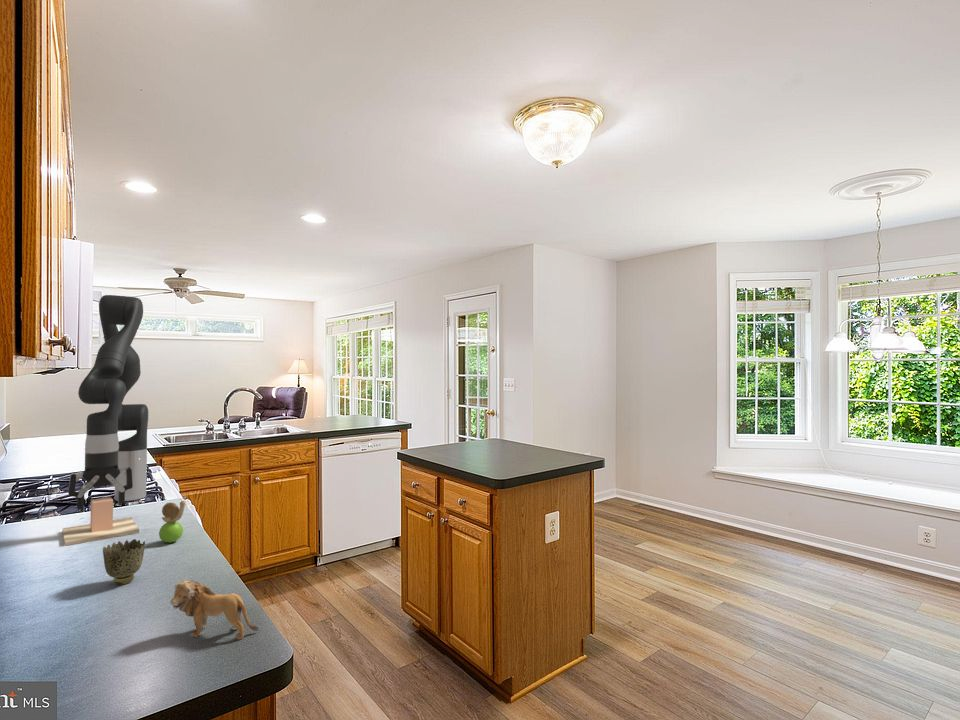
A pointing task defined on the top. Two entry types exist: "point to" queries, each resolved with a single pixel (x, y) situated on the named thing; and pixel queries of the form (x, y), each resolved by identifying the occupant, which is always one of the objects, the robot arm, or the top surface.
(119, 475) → the robot arm
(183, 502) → the snail figurine
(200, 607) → the lion figurine
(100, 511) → the terracotta block
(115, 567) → the cup
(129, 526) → the birch board
